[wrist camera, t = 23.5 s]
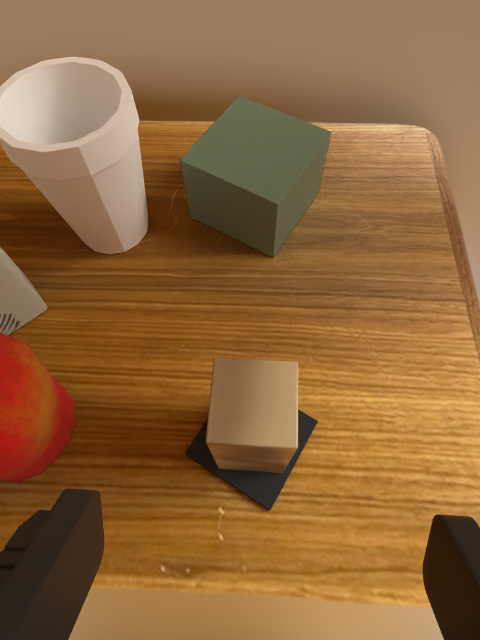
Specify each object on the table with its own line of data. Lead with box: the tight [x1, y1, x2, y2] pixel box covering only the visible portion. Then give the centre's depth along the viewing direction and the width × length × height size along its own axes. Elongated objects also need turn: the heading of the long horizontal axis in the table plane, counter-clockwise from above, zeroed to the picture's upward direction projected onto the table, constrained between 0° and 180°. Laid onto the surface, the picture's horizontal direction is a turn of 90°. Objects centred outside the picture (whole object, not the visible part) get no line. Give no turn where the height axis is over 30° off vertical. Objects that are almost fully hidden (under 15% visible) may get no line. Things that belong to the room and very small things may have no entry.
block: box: [206, 358, 298, 473], centre depth 26 cm, size 4×4×10 cm
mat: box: [185, 410, 318, 510], centre depth 31 cm, size 7×7×1 cm
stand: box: [180, 96, 331, 258], centre depth 37 cm, size 9×9×7 cm
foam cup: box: [0, 57, 149, 254], centre depth 34 cm, size 10×9×13 cm
